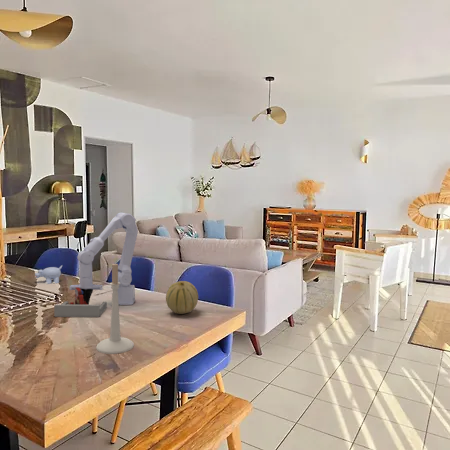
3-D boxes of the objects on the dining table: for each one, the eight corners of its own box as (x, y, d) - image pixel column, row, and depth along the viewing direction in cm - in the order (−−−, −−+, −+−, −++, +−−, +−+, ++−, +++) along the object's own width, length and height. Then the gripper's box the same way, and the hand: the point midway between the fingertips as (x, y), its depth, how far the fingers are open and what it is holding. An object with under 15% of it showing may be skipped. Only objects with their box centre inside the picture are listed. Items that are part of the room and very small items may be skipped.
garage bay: (106, 308, 191) (106, 297, 191) (98, 317, 178) (98, 305, 177) (65, 307, 190) (65, 297, 190) (54, 316, 177) (54, 305, 176)
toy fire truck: (73, 316, 177) (73, 293, 176) (68, 309, 188) (68, 287, 187) (89, 314, 181) (89, 291, 180) (84, 307, 191) (84, 285, 191)
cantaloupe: (191, 307, 196) (191, 276, 194) (203, 315, 182) (203, 282, 181) (161, 310, 189) (161, 278, 188) (171, 319, 176) (171, 285, 175)
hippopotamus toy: (35, 280, 243) (34, 265, 243) (62, 279, 250) (62, 263, 249) (34, 284, 234) (34, 268, 233) (63, 282, 240) (62, 266, 239)
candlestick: (98, 356, 137) (97, 267, 134) (94, 342, 148) (93, 260, 146) (137, 350, 142) (137, 265, 139) (130, 338, 153) (130, 259, 151)
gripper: (103, 274, 194) (104, 302, 195) (72, 274, 193) (73, 302, 194) (100, 277, 187) (100, 306, 188) (67, 277, 186) (68, 307, 187)
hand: (86, 304), depth 191 cm, fingers closed
